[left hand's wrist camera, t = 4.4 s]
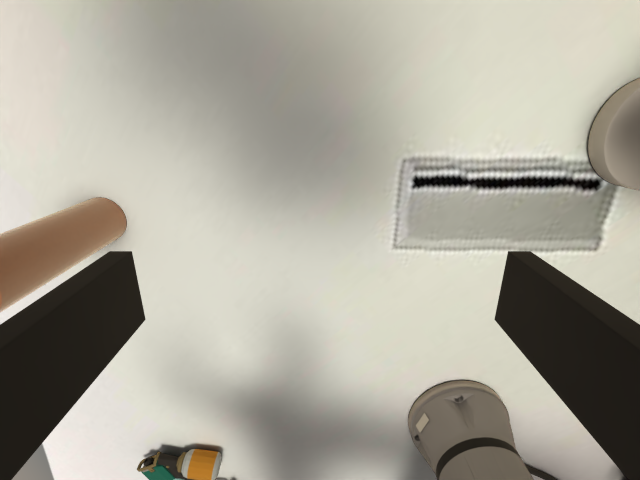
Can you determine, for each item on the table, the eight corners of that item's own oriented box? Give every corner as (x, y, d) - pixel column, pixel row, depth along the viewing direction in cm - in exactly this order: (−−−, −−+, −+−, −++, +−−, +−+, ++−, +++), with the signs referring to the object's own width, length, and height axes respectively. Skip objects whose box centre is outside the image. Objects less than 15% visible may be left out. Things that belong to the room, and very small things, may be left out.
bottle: (133, 211, 45) (-67, 318, 22) (118, 247, 47) (-81, 383, 23) (88, 189, 44) (-171, 276, 21) (75, 227, 46) (-178, 347, 22)
